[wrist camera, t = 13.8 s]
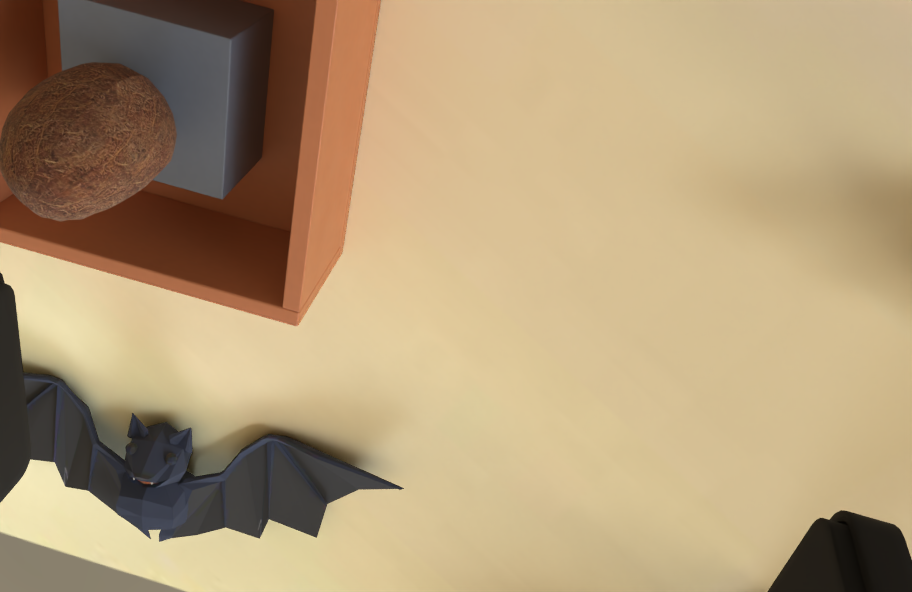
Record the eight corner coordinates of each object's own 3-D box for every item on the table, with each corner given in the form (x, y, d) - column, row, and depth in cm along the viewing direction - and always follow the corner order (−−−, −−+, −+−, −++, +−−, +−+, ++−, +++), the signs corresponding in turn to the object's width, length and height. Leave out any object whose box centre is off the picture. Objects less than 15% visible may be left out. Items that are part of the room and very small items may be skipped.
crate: (21, -173, 34) (-97, -158, 29) (392, -75, 34) (343, -42, 28) (47, 170, 43) (-40, 231, 38) (342, 253, 42) (297, 327, 37)
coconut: (105, 160, 36) (-17, 252, 29) (68, 39, 33) (-76, 110, 27) (220, 161, 35) (120, 256, 28) (191, 36, 32) (73, 109, 26)
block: (117, -34, 36) (56, -9, 32) (274, 9, 36) (231, 38, 32) (120, 118, 40) (66, 156, 36) (262, 158, 40) (222, 200, 36)
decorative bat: (-87, 503, 53) (-111, 372, 48) (-42, 461, 56) (-60, 335, 52) (373, 628, 51) (397, 505, 46) (389, 576, 55) (413, 457, 50)
